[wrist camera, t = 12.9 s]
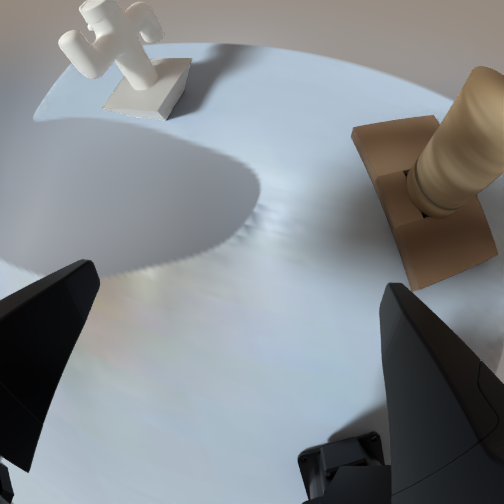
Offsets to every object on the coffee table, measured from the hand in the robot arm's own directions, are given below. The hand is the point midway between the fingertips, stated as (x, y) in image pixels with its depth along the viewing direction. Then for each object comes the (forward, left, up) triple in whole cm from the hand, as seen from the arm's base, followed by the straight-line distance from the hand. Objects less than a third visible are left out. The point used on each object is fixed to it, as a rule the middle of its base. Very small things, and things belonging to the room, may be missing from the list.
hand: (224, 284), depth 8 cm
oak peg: (+5, -16, -13) cm, 21 cm away
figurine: (+23, +5, -14) cm, 27 cm away
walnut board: (+5, -16, -14) cm, 21 cm away
